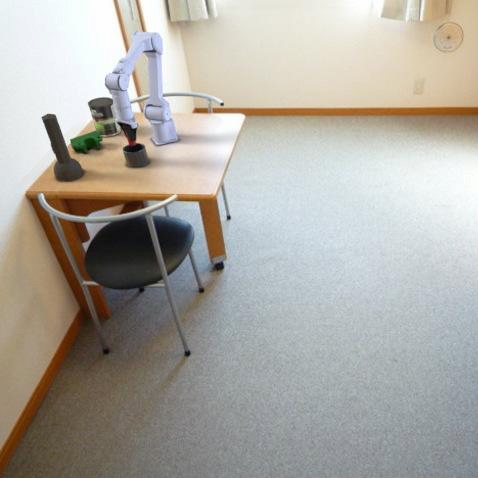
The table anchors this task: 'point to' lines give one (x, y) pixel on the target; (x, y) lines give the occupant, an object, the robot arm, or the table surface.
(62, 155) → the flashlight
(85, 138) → the green notched block
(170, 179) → the table surface
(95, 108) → the coffee can
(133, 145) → the marker
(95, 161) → the table surface
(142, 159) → the cup
